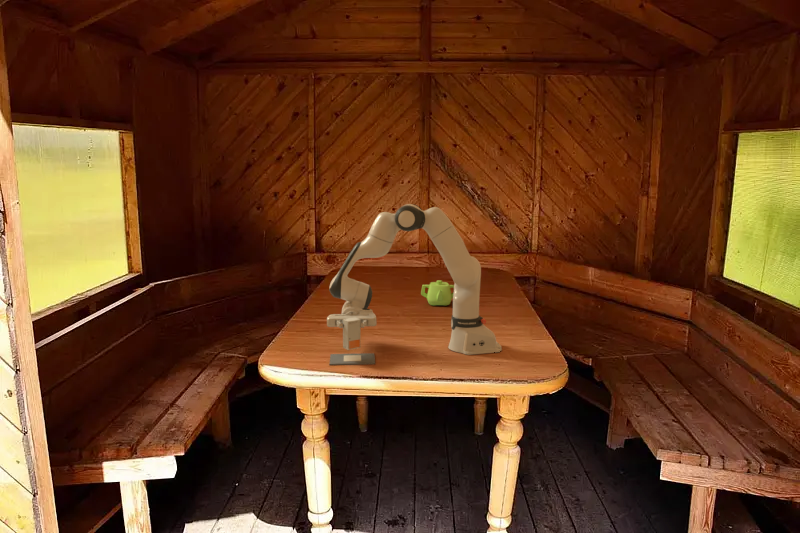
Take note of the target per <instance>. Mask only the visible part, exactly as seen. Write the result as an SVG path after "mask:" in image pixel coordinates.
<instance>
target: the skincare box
mask: <svg viewBox="0 0 800 533" xmlns="http://www.w3.org/2000/svg"><path fill="white" fill-rule="evenodd" d="M360 323H361V320H360V319H358V318H356V317H355V318H348V319H343V328H342V348H343V349H345V350H347V351H350V350H351V351H352V350H356V349H361V325H360Z"/></svg>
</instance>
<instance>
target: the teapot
mask: <svg viewBox="0 0 800 533" xmlns="http://www.w3.org/2000/svg"><path fill="white" fill-rule="evenodd" d="M426 288H427V292H426ZM452 288H453V289H454V284H449V283H448V282H446V281H443V280H440V279H439V280H436V281H431V282H429V284H422V286H421V291H420V295H421V296H422V297H424V298H426V300H427V303H428V304H429V305H430V306H433V307H435V306H444V307H445V306H446V307H447V306H449V305H450V304H451V302H452V300H453V294H454V292H452V290H451V289H452Z"/></svg>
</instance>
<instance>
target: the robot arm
mask: <svg viewBox="0 0 800 533" xmlns="http://www.w3.org/2000/svg"><path fill="white" fill-rule="evenodd" d="M420 229H422V230H424V232H426V234H427V236H428V237H429V239H430V240H431V241H432V243H433V245H434V246H435V248H436V249H437V251H438V253H439V255H440V256H441V258H442V260H443V263H444V265H445V267H446V268H447V271H448V273H449V275H450V277H451V278H452V280H453V283H454V284H453V285H454V288H453V293H454V294H453V298H452V315H451V319H450V320H451V321H450V327H451V334H450V340H449V343H448V349H449V350H451V351H452V352H456V353H461V354H464V355H467V356H469V355H471V356H472V355H482V354H492V353H494V352H495V353H500V351H501V352H502V345H501V344H500V343H499V342H498V341H497V338H496V335H495V333H494V331H492V330H491V329H490V328H488V327H487V326H485V325H486V323H487V320H486V319H485V318H484V317H483V316H481V315H480V294H481V280H482V279H481V277H482V266H481V263H480V261H479V260H478V259H477V258H476V257H475V256H473V255H472V256H471V254H470V252H469V251H468V250H469V249H468V248H467V247H466V244H465V242H464V239H463V238H462V237H461V235H460V234H459V232H458V231H457V229H456V226H454V224H453V223H452V221H451V219H450V218H449V217H448V216H447V214H446V213H445V212H444V211H443V210H442V209H441V208H440V207H438V206H433V207H430V208H427V209H425V210H424V209H422V208H421V207H420V206H419V205H417V204H413V203H412V204H411V203H407V204H404V205H402V206H400V207H399V208H398V209H397V210H396V212H395V213H391V212H389V211H383V212H379V214H377V216H376V217H375V219H374V221H373V223H372V225H371V226H370V229H369V232H368V234H367V235H366V237H365V238H364V239H363V240H361V241H359V242H356V243H355V245H354V246H353V248H352V249H351V251H350V252H349V253H348V255H347V257H346V258H345V260H344V262H343V263H342V265H341V267H340V268H339V270H338V272H337V274H336V275H335V276H334V277H333V278H332V280H331V281H330V284H329V289H328V291H329V293H330V294H331V296H332V297H333V298H335V299H340V300H343V301H345V302H344V304H343V305H342V308H341V313H333V314H329V315H328V316H327V317H326V326H327V327H329V328H334V327H335V328H339V329H343V319H348V318H355V317H356V318H358V319H360V320H361V323H360V325H361V327H360V328H365V327H376V326H377V315H376V314H375V313H374V312H373V309H371V308H369V307H370V304H371V301H372V298H373V289H372V287H371V285H370V284H367V283H366V282H362V281H358V280H356V279H354V278H350V277H349V276H348V275H349V273H350V271H351V270H352V269H353V266H354V265H355V263H356V262H357V261H359V260H361V259H375V258H376V259H378V258H382V257H384V256H386V255H387V254H388V253H389V252H390V250H391V249H392V246H393V243H394V241H395V238H396V236H397V234H398V232H399V231H403V232H413V231H416V230H420Z"/></svg>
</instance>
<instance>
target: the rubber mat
mask: <svg viewBox="0 0 800 533" xmlns="http://www.w3.org/2000/svg"><path fill="white" fill-rule="evenodd" d="M375 357H376V356H375V353H374V352H371V353H369V352H368V353H366V352H365V353H364V352H363V353H330V356H329V366H348V365H349V366H351V365H352V366H355V365H356V366H359V365H376V358H375Z"/></svg>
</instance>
